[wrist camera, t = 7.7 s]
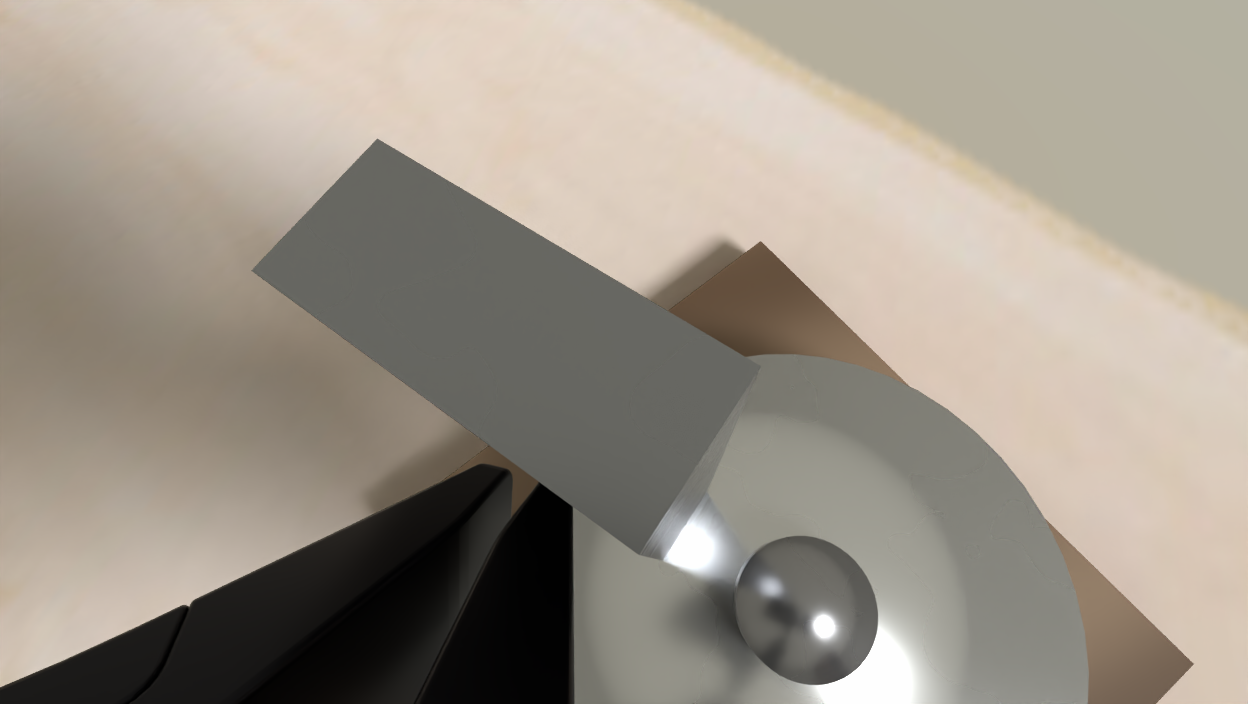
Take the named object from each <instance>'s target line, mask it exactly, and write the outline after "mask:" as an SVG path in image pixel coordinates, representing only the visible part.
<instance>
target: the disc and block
mask: <svg viewBox="0 0 1248 704" xmlns="http://www.w3.org/2000/svg"><path fill="white" fill-rule="evenodd" d="M252 271H253V272H254V273H255V274H257V275H258V276H259V277H261V278H262V279H263V280H265V281H266V282H268V283H269V284H270V285H272V286H273V287H274V288H276V289H277V290H278V291H280V292H281V293H283V294H284V295H285V296H287V297H288V298H289V299H291V300H292V301H293V302H295V303H296V304H298V305H299V306H300V307H302V308H303V309H304V310H306V311H307V312H308V313H310V314H311V315H313V316H314V317H315V318H317V319H318V320H319V321H321V322H322V323H323V324H325V325H326V326H327V327H329V328H330V329H332V330H333V331H334V332H336V333H337V334H338V335H340V336H341V337H342V338H344V339H345V340H347V341H348V342H349V343H351V344H352V345H353V346H355V347H356V348H357V349H359V350H360V351H362V352H363V353H364V354H366V355H367V356H368V357H370V358H371V359H372V360H374V361H375V362H377V363H378V364H379V365H381V366H382V367H383V368H385V369H386V370H387V371H389V372H390V373H391V374H393V375H394V376H396V377H397V378H398V379H400V380H401V381H402V382H404V383H405V384H406V385H408V386H409V387H411V388H412V389H413V390H415V391H416V392H417V393H419V394H420V395H421V396H423V397H424V398H426V399H427V400H428V401H430V402H431V403H432V404H434V405H435V406H436V407H438V408H439V409H441V410H442V411H443V412H445V413H446V414H447V415H449V416H450V417H451V418H453V419H454V420H456V421H457V422H458V423H460V424H461V425H462V426H464V427H465V428H466V429H468V430H469V431H470V432H472V433H473V434H475V435H476V436H477V437H479V438H480V439H481V440H483V441H484V442H485V443H487V444H488V445H490V446H491V447H492V448H494V449H495V450H496V451H498V452H499V453H500V454H502V455H503V456H505V457H506V458H507V459H509V460H510V461H511V462H513V463H514V464H515V465H517V466H518V467H520V468H521V469H522V470H524V471H525V472H526V473H528V474H529V475H530V476H532V477H533V478H534V479H536V480H537V481H539V482H540V483H541V484H543V485H544V486H545V487H547V488H548V489H549V490H551V491H552V492H554V493H555V494H556V495H558V496H559V497H560V498H562V499H563V500H564V501H566V502H567V503H569V504H570V505H571V506H573V554H574V683H575V704H1088V683H1089V670H1088V659H1087V649H1086V639H1085V631H1084V626H1083V622H1082V617H1081V613H1080V608H1079V604H1078V600H1077V595H1076V591H1075V589H1074V586H1073V583H1072V580H1071V577H1070V574H1069V572H1068V569H1067V566H1066V563H1065V560H1064V557H1063V555H1062V553H1061V551H1060V548H1059V546H1058V544H1057V542H1056V540H1055V538H1054V536H1053V534H1052V532H1051V530H1050V528H1049V526H1048V524H1047V522H1046V520H1045V518H1044V517H1043V515H1042V513H1041V512H1040V510H1039V509H1038V507H1037V506H1036V504H1035V502H1034V501H1033V499H1032V498H1031V496H1030V495H1029V493H1028V491H1027V490H1026V488H1025V487H1024V485H1023V484H1022V483H1021V482H1020V481H1019V479H1018V478H1017V477H1016V476H1015V474H1014V473H1013V472H1012V471H1011V469H1010V468H1009V467H1008V466H1007V464H1006V463H1005V462H1004V461H1003V459H1002V458H1001V457H1000V456H999V455H998V454H997V453H996V452H995V451H994V450H993V449H992V448H991V447H990V446H989V445H988V444H987V443H986V442H985V441H984V440H983V439H982V438H981V437H980V436H979V435H978V434H977V433H976V432H975V431H974V430H972V429H971V428H970V427H969V426H967V425H966V424H965V423H964V422H963V421H961V420H960V419H959V418H958V417H956V416H955V415H954V414H953V413H951V412H950V411H949V410H948V409H946V408H944V407H943V406H941V405H940V404H938V403H937V402H935V401H933V400H932V399H930V398H929V397H927V396H926V395H924V394H922V393H921V392H919V391H918V390H916V389H914V388H911V387H909V386H907V385H905V384H903V383H901V382H899V381H897V380H895V379H893V378H891V377H889V376H887V375H884V374H881V373H878V372H875V371H873V370H870V369H867V368H864V367H861V366H859V365H855V364H851V363H847V362H842V361H838V360H834V359H829V358H824V357H815V356H806V355H797V354H764V355H756V356H749V357H745V356H743V355H741V354H739V353H738V352H736V351H734V350H733V349H731V348H729V347H728V346H726V345H724V344H723V343H721V342H719V341H718V340H716V339H714V338H713V337H711V336H709V335H707V334H706V333H704V332H702V331H701V330H699V329H697V328H696V327H694V326H692V325H691V324H689V323H687V322H686V321H684V320H682V319H680V318H679V317H677V316H675V315H674V314H672V313H670V312H669V311H667V310H665V309H664V308H662V307H660V306H659V305H657V304H655V303H653V302H652V301H650V300H648V299H647V298H645V297H643V296H642V295H640V294H638V293H637V292H635V291H633V290H632V289H630V288H628V287H627V286H625V285H623V284H621V283H620V282H618V281H616V280H615V279H613V278H611V277H610V276H608V275H606V274H605V273H603V272H601V271H600V270H598V269H596V268H594V267H593V266H591V265H589V264H588V263H586V262H584V261H583V260H581V259H579V258H578V257H576V256H574V255H573V254H571V253H569V252H567V251H566V250H564V249H562V248H561V247H559V246H557V245H556V244H554V243H552V242H551V241H549V240H547V239H546V238H544V237H542V236H540V235H539V234H537V233H535V232H534V231H532V230H530V229H529V228H527V227H525V226H524V225H522V224H520V223H519V222H517V221H515V220H514V219H512V218H510V217H508V216H507V215H505V214H503V213H502V212H500V211H498V210H497V209H495V208H493V207H492V206H490V205H488V204H487V203H485V202H483V201H481V200H480V199H478V198H476V197H475V196H473V195H471V194H470V193H468V192H466V191H465V190H463V189H461V188H460V187H458V186H456V185H454V184H453V183H451V182H449V181H448V180H446V179H444V178H443V177H441V176H439V175H438V174H436V173H434V172H433V171H431V170H429V169H427V168H426V167H424V166H422V165H421V164H419V163H417V162H416V161H414V160H412V159H411V158H409V157H407V156H406V155H404V154H402V153H401V152H399V151H397V150H395V149H394V148H392V147H390V146H389V145H387V144H385V143H384V142H382V141H380V140H379V139H377V140H376V141H375V142H374V143H373V144H372V145H371V146H370V147H369V148H368V149H367V150H366V151H365V152H364V153H363V154H362V155H361V156H360V157H359V159H358V160H357V161H356V162H355V163H354V164H353V165H352V166H351V167H350V168H349V169H348V170H347V171H346V172H345V173H344V174H343V175H342V176H341V177H340V178H339V179H338V181H337V182H336V183H335V184H334V185H333V186H332V187H331V188H330V189H329V190H328V191H327V192H326V193H325V194H324V195H323V196H322V197H321V198H320V199H319V200H318V201H317V203H316V204H315V205H314V206H313V207H312V208H311V209H310V210H309V211H308V212H307V213H306V214H305V215H304V216H303V217H302V218H301V219H300V220H299V221H298V222H297V223H296V225H295V226H294V227H293V228H292V229H291V230H290V231H289V232H288V233H287V234H286V235H285V236H284V237H283V238H282V239H281V240H280V241H279V242H278V243H277V244H276V245H275V247H274V248H273V249H272V250H271V251H270V252H269V253H268V254H267V255H266V256H265V257H264V258H263V259H262V260H261V261H260V262H259V263H258V264H257V265H256V266H255V267H254V269H253V270H252Z"/></svg>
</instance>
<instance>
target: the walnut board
mask: <svg viewBox="0 0 1248 704" xmlns="http://www.w3.org/2000/svg"><path fill="white" fill-rule="evenodd" d="M669 312H670V313H672V314H674V315H675V316H677V317H679V318H680V319H682V320H684V321H686V322H687V323H689V324H691V325H692V326H694V327H696V328H697V329H699V330H701V331H702V332H704V333H706V334H707V335H709V336H711V337H713V338H714V339H716V340H718V341H719V342H721V343H723V344H724V345H726V346H728V347H729V348H731V349H733V350H734V351H736V352H738V353H739V354H741V355H743V356H745V357H749V356H756V355H764V354H797V355H806V356H815V357H824V358H829V359H834V360H838V361H842V362H847V363H851V364H855V365H859V366H861V367H864V368H867V369H870V370H873V371H875V372H878V373H881V374H884V375H887V376H889V377H891V378H893V379H895V380H897V381H899V382H901V383H903V384H905V385H907V386H909V385H908V384H906V383H905V382H904V381H903V380H902V379H901V378H900V377H899V376H898V375H897V374H896V373H895V372H894V371H893V370H892V369H891V368H890V367H889V366H888V365H887V364H886V363H885V362H884V361H883V360H882V359H881V358H880V357H879V356H878V355H877V354H876V353H875V352H874V351H873V350H872V349H871V348H870V347H869V346H868V345H867V344H866V343H865V342H863V341H862V340H861V339H860V338H859V337H858V336H857V335H856V334H855V333H854V332H853V331H852V330H851V329H850V328H849V327H848V326H847V325H846V324H845V323H844V322H843V321H842V320H841V319H840V318H839V317H838V316H837V315H836V314H835V313H834V312H833V311H832V310H831V309H830V308H829V307H828V306H827V305H826V304H825V303H824V302H823V301H822V300H820V299H819V298H818V297H817V296H816V295H815V294H814V293H813V292H812V291H811V290H810V289H809V288H808V287H807V286H806V285H805V284H804V283H803V282H802V281H801V280H800V279H799V278H798V277H797V276H796V275H795V274H794V273H793V272H792V271H791V270H790V269H789V268H788V267H787V266H786V265H785V264H784V263H783V262H782V261H781V260H780V259H779V258H777V257H776V256H775V255H774V254H773V253H772V252H771V251H770V250H769V249H768V248H767V247H766V246H765V245H764V244H763V243H762V242H761V241H760V242H759V243H758V244H756V245H755V246H754V247H752V248H751V249H750V250H748V251H747V252H746V253H744V254H743V255H742V256H740V257H739V258H738V259H736V260H735V261H734V262H732V263H731V264H730V265H728V266H727V267H726V268H725V269H723V270H722V271H721V272H719V273H718V274H717V275H715V276H714V277H713V278H711V279H710V280H709V281H707V282H706V283H705V284H703V285H702V286H701V287H699V288H698V289H697V290H695V291H694V292H693V293H691V294H690V295H689V296H687V297H686V298H685V299H683V300H682V301H681V302H679V303H678V304H677V305H675V306H674V307H673V308H671V309H670V310H669ZM909 387H910V386H909ZM481 463H485V464H490V465H494V466H498V467H503V468H507V469H509V470H510V472H511V473H512V477H513V489H512V511H511V517H512V516H513V515H514V513H515V512H516V511H517V509H518V508H519V507H520V506H521V504H522V503H523V502H524V500H525V499H526V498H527V497H528V495H529V494H530V493H531V491H532V490H533V489H534V487H535V486H536V485H537V484H538V482H539V481H537V480H536V479H534V478H533V477H532V476H530V475H529V474H528V473H526V472H525V471H524V470H522V469H521V468H520V467H518V466H517V465H515V464H514V463H513V462H511V461H510V460H509V459H507V458H506V457H505V456H503V455H502V454H500V453H499V452H498V451H496V450H495V449H494V448H492V447H491V446H490V445H489V446H488V447H487V448H485V449H484V450H483V451H481V452H480V453H479V454H477V455H476V456H475V457H473V458H472V459H471V460H469V461H468V462H467V463H465V464H464V465H463V466H461V467H460V468H459V469H457V470H456V471H455V472H453V473H452V474H451V475H449V476H448V477H447V478H445V479H444V480H446V479H448V478H450V477H452V476H454V475H456V474H459V473H461V472H463V471H465V470H467V469H469V468H471V467H473V466H475V465H478V464H481ZM444 480H443V481H444ZM441 482H442V481H441ZM1045 520H1046V519H1045ZM1046 522H1047V524H1048V526H1049V528H1050V530H1051V532H1052V534H1053V536H1054V538H1055V540H1056V542H1057V544H1058V546H1059V548H1060V551H1061V553H1062V555H1063V557H1064V560H1065V563H1066V566H1067V569H1068V572H1069V574H1070V577H1071V580H1072V583H1073V586H1074V589H1075V591H1076V595H1077V600H1078V604H1079V608H1080V613H1081V617H1082V622H1083V626H1084V631H1085V639H1086V649H1087V659H1088V670H1089V683H1088V704H1156V703H1157V702H1158V701H1159V700H1160V699H1161V698H1162V697H1163V696H1164V695H1165V694H1166V693H1167V692H1168V690H1169V689H1170V688H1171V687H1172V686H1173V685H1174V684H1175V683H1176V682H1177V681H1178V680H1179V679H1180V678H1181V677H1182V676H1183V675H1184V674H1185V673H1186V672H1187V671H1188V670H1189V669H1190V668H1191V667H1192V665H1193V663H1192V662H1191V661H1190V660H1189V659H1188V658H1187V657H1186V656H1185V655H1184V654H1183V653H1182V652H1181V651H1180V650H1179V649H1178V648H1177V647H1176V646H1175V645H1174V644H1173V643H1172V642H1171V641H1170V640H1169V639H1168V638H1167V637H1166V636H1165V635H1163V634H1162V633H1161V632H1160V631H1159V630H1158V629H1157V628H1156V627H1155V626H1154V625H1153V624H1152V623H1151V622H1150V621H1149V620H1148V619H1147V618H1146V617H1145V616H1144V615H1143V614H1142V613H1141V612H1140V611H1139V610H1138V609H1137V608H1136V607H1135V606H1134V605H1133V604H1132V603H1131V602H1130V601H1129V600H1128V599H1127V598H1126V597H1125V596H1124V595H1123V594H1122V593H1120V592H1119V591H1118V590H1117V589H1116V588H1115V587H1114V586H1113V585H1112V584H1111V583H1110V582H1109V581H1108V580H1107V579H1106V578H1105V577H1104V576H1103V575H1102V574H1101V573H1100V572H1099V571H1098V570H1097V569H1096V568H1095V567H1094V566H1093V565H1092V564H1091V563H1090V562H1089V561H1088V560H1087V559H1086V558H1085V557H1084V556H1083V555H1082V554H1081V553H1080V552H1078V551H1077V550H1076V549H1075V548H1074V547H1073V546H1072V545H1071V544H1070V543H1069V542H1068V541H1067V540H1066V539H1065V538H1064V537H1063V536H1062V535H1061V534H1060V533H1059V532H1058V531H1057V530H1056V529H1055V528H1054V527H1053V526H1052V525H1051V524H1050V523H1049V522H1048V521H1047V520H1046Z"/></svg>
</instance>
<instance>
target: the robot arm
mask: <svg viewBox="0 0 1248 704" xmlns="http://www.w3.org/2000/svg"><path fill="white" fill-rule="evenodd" d="M512 489H513V477H512V473H511V472H510V470H509V469H507V468H503V467H498V466H494V465H490V464H485V463H481V464H478V465H475V466H473V467H471V468H469V469H467V470H465V471H463V472H461V473H459V474H456V475H454V476H452V477H450V478H448V479H446V480H444V481H442V482H440V483H438V484H436V485H433V486H431V487H429V488H427V489H425V490H423V491H421V492H419V493H417V494H415V495H412V496H410V497H408V498H406V499H404V500H402V501H400V502H398V503H396V504H394V505H392V506H389V507H387V508H385V509H383V510H381V511H379V512H377V513H375V514H373V515H371V516H369V517H366V518H364V519H362V520H360V521H358V522H356V523H354V524H352V525H350V526H348V527H346V528H343V529H341V530H339V531H337V532H335V533H333V534H331V535H329V536H327V537H325V538H323V539H320V540H318V541H316V542H314V543H312V544H310V545H308V546H306V547H304V548H302V549H299V550H297V551H295V552H293V553H291V554H289V555H287V556H285V557H283V558H281V559H279V560H276V561H274V562H272V563H270V564H268V565H266V566H264V567H262V568H260V569H258V570H256V571H253V572H251V573H249V574H247V575H245V576H243V577H241V578H239V579H237V580H235V581H233V582H230V583H228V584H226V585H224V586H222V587H220V588H218V589H216V590H214V591H212V592H209V593H207V594H205V595H203V596H201V597H199V598H197V599H195V600H194V601H192V603H191V604H190V607H189V606H187V605H182V606H180V607H178V608H175V609H173V610H171V611H169V612H167V613H165V614H163V615H161V616H159V617H157V618H155V619H152V620H150V621H148V622H146V623H144V624H142V625H140V626H138V627H136V628H133V629H131V630H129V631H127V632H125V633H122V634H120V635H118V636H116V637H114V638H112V639H109V640H107V641H105V642H103V643H101V644H98V645H96V646H94V647H92V648H90V649H88V650H85V651H83V652H81V653H79V654H77V655H74V656H72V657H70V658H68V659H66V660H63V661H61V662H59V663H56V664H54V665H52V666H49V667H47V668H45V669H42V670H40V671H38V672H35V673H33V674H31V675H28V676H26V677H24V678H21V679H19V680H16V681H14V682H12V683H9V684H7V685H5V686H2V687H0V704H575V683H574V554H573V506H571V505H570V504H569V503H567V502H566V501H564V500H563V499H562V498H560V497H559V496H558V495H556V494H555V493H554V492H552V491H551V490H549V489H548V488H547V487H545V486H544V485H543V484H541V483H540V482H538V484H537V485H536V486H535V487H534V489H533V490H532V491H531V493H530V494H529V495H528V497H527V498H526V499H525V500H524V502H523V503H522V504H521V506H520V507H519V508H518V509H517V511H516V512H515V513H514V515H513V516H512V517H511V511H512Z"/></svg>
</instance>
